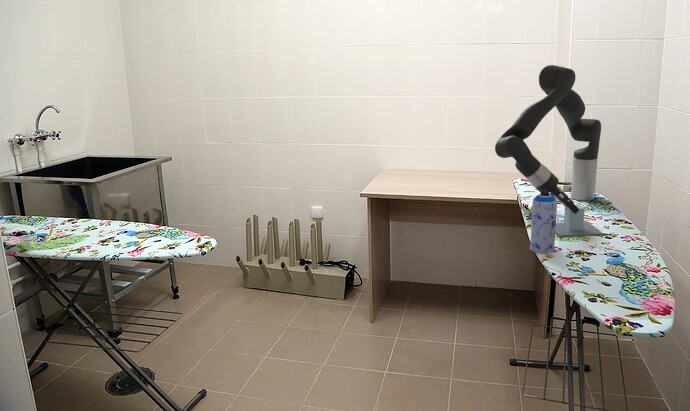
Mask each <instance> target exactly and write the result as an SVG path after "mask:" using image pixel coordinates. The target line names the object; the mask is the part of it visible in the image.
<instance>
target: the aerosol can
mask: <svg viewBox="0 0 690 411" xmlns="http://www.w3.org/2000/svg"><path fill="white" fill-rule="evenodd" d="M557 201H558V200H557V199H555V198H554V196H552V195H551V194H549V190H542V193H539V194H538V195H536V196H535V197H534V198H533V199H532V204H531V205H532V208H531V226H530V246H529V250H530V251H531V252H534V253H537V254H551V253H554V252H555V251H556V248H555V244H556V242H555V240H556V233H555V229H556V223H557V211H558V210H557V208H558V202H557Z"/></svg>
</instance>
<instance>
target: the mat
mask: <svg viewBox="0 0 690 411" xmlns="http://www.w3.org/2000/svg"><path fill="white" fill-rule="evenodd" d="M555 235H557V236H558V237H559V238H565V237H585V236H586V237H588V236H590V237H591V236H604V233H603V232H602V231H600V230H599V229H598V228H596V226H594V225H593V224H591V223H590V222H588V221H584V226H583V230H577V231H569V230H567V229H566V228H565V227H564V222H556V229H555Z"/></svg>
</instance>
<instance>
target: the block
mask: <svg viewBox="0 0 690 411" xmlns="http://www.w3.org/2000/svg"><path fill="white" fill-rule="evenodd" d="M575 205H576V206H577V207H578V208H579V211H578V212H577V213H576V214H574V213H573V212H572V211H571V210H570V209H569V208H568V207H566V206H564V217H563V223H564V227H565V228H566V229H567V230H569V231H577V230H583V226H584V222H585V213H586V212H585V211H586V210H585V209H586V208H584V207H583V206H582V205H580V204H575Z"/></svg>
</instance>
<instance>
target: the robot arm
mask: <svg viewBox="0 0 690 411" xmlns="http://www.w3.org/2000/svg"><path fill="white" fill-rule="evenodd" d="M575 82H576V72H575V71H574V70H573V69H571V68H570V67H569V68H568V67H564V66H560V65H556V64H548V65H546V66H543V67H542V69H541V70H540V72H539V74H538V84H539V87H540V89H541V90H542V91H543V92H544V93H545V95H546V96H544V97H543V98H541V99H540V100H538V101H536V102H534V103H532V104H530V105H529V106H528V107H526V108H525V109H523V111H521V113H520V114H519V116H518V117H517V118H516V120H515V121H514V123H513V124H512V125H511V126H510V127H509V128H508V129H507V130H506V131H505V132H504V133H502V135H501V136H500V137H499V138H498V139H497V141H496V142H495V146H494V151H495V154H496V155H497V156H498V157H500V158H502V159H509V158H513V159H514V160H515V164H514V165H515V168H516V169H517V171H518V172H520V174H522V176H524V177H525V179H526V180H527V181H528V182H529V183H530V184H531V185H532V187H534V188H535V189H536V190H537V191H538V192H539V194H541V193H542V190H549V194H551V195H552V196H554V198H555V199H556V200H557V201H558V202H559V203H560V204H561V205H563V206H564V207H565V206H566V207H568V208H569V209H570V210H571V211H572V212H573V213H574V214H576V213H577V212H578V211H579V208H578V207H577V206H576V205H577V204H575V203H574V201H573V200H575V201H576V200H577V201H592V200H595V196H596V186H597V185H596V183H597V172H598V170H597V169H598V157H599V151H600V141H601V140H600V139H601V134H602V123H601V121H600V120H599V119H595V118H594V119H593V118H583V116H585V112H586V105H585V102H584V101H583V99H582V97H581V95H579V93H577V92H576V91H575V90H574V89H572V88H573V87H574V85H575ZM554 108H556V109H557V111H558V113H559V114H560V117H561V118H562V120H564V123H565V124H566V126H567V128H568V132H569V134H570V136H571V137H572V139H573V140H574V141H577V142H585V143H586V142H587V143H588V145H587V146H585V147H582V148H578V149H575V150H574V151H573V158H572V160H573V161H572V175H571V191H570V197H571V198H570V197H569V195H568V194H567V193H566V192H564V190H563V189H562V188H561V187H559V186H558V185H559V181H560V180H559V178H558V177H557V176H556V175H555V174H554V173H553V172H552V171H551V170H550V169H549V168H548V167H546V166H545V165H544V164H543V163H542V162H540V161H539V159H537V157H536V156H534V155H533V154H532V151H531V150H530V148H529V146H528V144H527V143H526V141H525V140H526V139H528V138H529V137H530V136H531V135H532V134H533V132H534V131H535V130H536V128H537V127H538V125H539V124H540V123H541V121H542V120H543V119H544V118H545V117H546V116H547V115H548V114H549V113H550V112H551V110H553V109H554ZM572 199H573V200H572Z"/></svg>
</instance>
